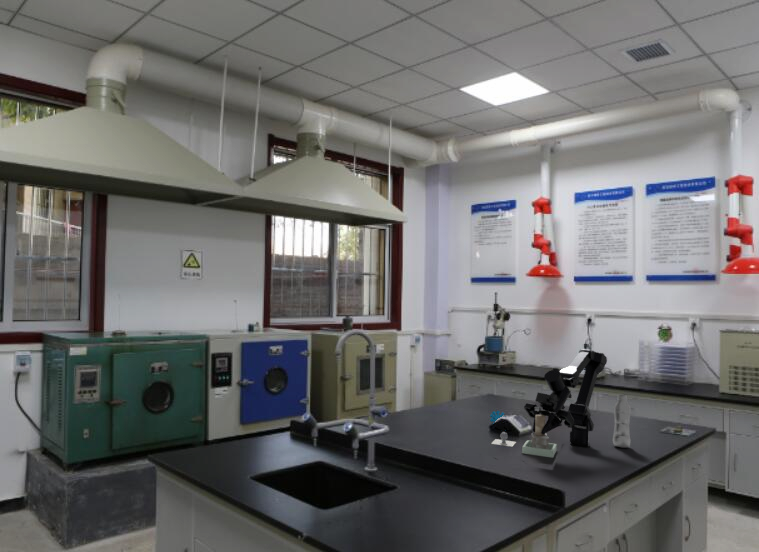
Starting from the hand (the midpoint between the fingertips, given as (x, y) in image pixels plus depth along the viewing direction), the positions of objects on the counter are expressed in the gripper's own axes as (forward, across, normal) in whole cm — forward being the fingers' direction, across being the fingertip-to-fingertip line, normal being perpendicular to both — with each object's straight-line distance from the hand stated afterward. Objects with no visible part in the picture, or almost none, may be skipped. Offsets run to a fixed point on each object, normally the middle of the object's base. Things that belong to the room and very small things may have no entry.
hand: (537, 432), depth 202 cm
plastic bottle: (-23, +8, +36) cm, 43 cm away
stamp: (+3, 0, +5) cm, 6 cm away
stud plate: (+6, -15, +6) cm, 17 cm away
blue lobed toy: (-9, -35, +21) cm, 42 cm away
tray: (+5, 0, +7) cm, 9 cm away
